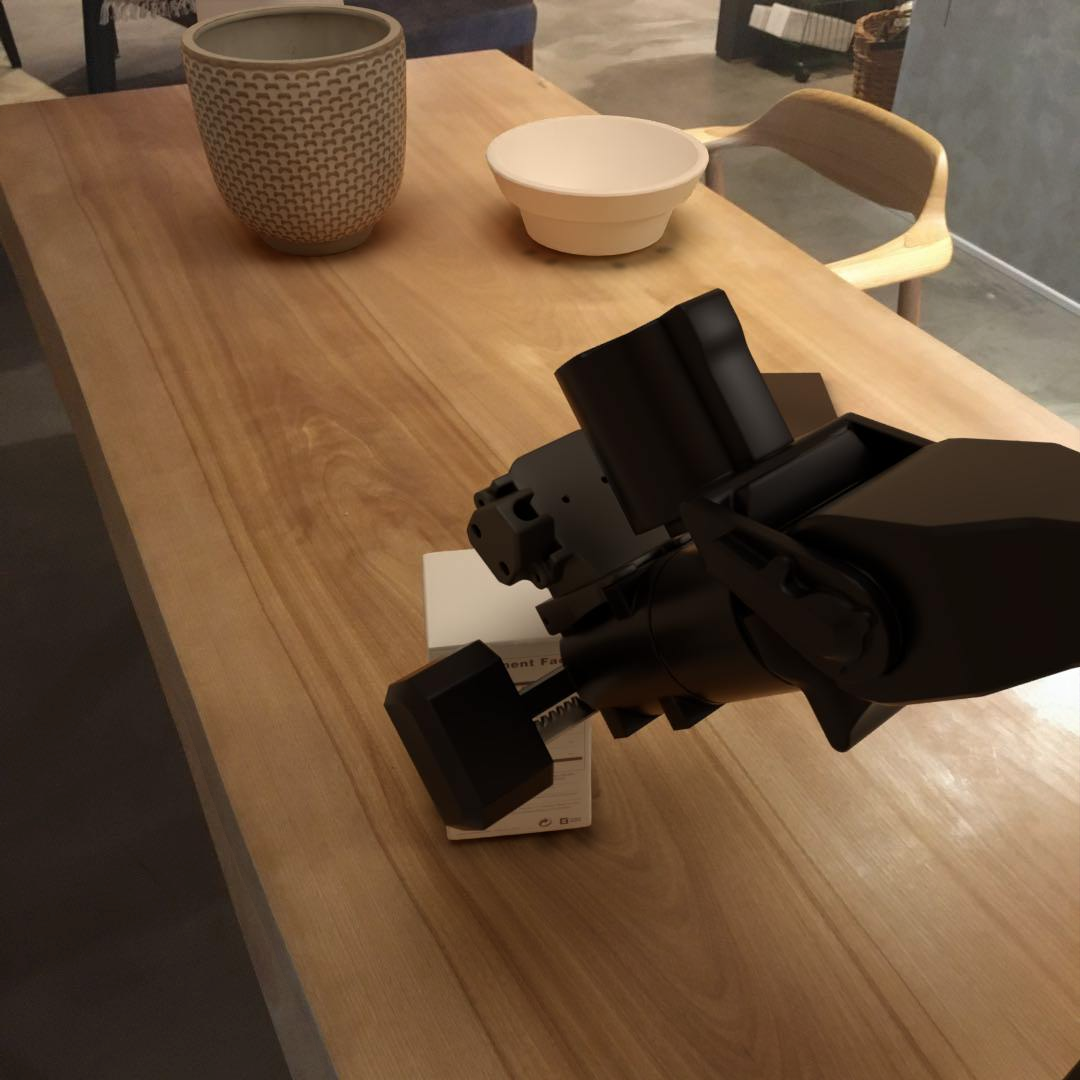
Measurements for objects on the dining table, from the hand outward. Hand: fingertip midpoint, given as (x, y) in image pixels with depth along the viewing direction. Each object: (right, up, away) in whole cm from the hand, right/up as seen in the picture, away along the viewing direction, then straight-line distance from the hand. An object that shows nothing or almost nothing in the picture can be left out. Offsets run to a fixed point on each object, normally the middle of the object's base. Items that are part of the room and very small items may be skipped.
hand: (518, 675), depth 55 cm
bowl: (+6, +36, +61) cm, 71 cm away
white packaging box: (0, -6, +6) cm, 9 cm away
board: (+16, +9, +25) cm, 31 cm away
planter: (-21, +36, +61) cm, 74 cm away
